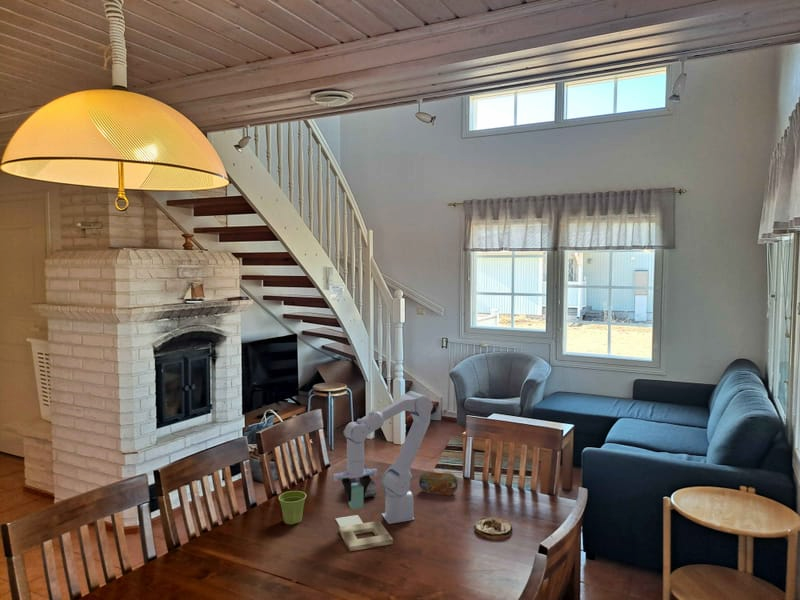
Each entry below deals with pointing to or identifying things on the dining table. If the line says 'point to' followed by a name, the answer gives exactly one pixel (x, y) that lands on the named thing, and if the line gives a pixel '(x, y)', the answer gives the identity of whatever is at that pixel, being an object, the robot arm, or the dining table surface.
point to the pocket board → (369, 542)
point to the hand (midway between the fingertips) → (355, 499)
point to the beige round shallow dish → (493, 528)
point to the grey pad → (348, 520)
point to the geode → (370, 489)
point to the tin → (438, 482)
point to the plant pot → (292, 506)
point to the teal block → (357, 496)
